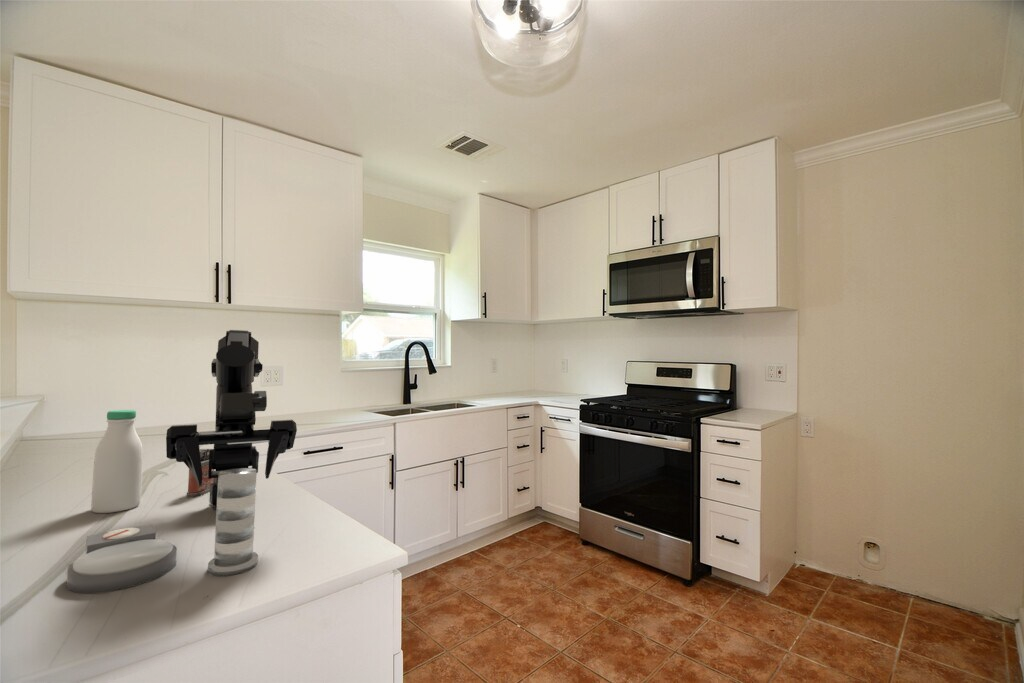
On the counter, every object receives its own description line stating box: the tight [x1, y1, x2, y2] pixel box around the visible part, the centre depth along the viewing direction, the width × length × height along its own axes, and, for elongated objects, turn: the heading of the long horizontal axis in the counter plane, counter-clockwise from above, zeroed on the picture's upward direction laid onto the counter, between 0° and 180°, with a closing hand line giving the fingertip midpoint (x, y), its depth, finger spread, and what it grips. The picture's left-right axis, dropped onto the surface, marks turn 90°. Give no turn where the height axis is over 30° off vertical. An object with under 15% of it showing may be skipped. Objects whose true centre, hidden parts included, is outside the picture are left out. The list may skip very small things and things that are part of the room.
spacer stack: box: [207, 467, 259, 577], centre depth 69 cm, size 6×6×14 cm
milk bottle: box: [90, 409, 144, 514], centre depth 95 cm, size 8×8×20 cm
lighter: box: [186, 448, 215, 499], centre depth 106 cm, size 8×3×10 cm, turn 5°
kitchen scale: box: [66, 523, 178, 594], centre depth 68 cm, size 12×16×4 cm
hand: (235, 480), depth 73 cm, fingers open, 9 cm apart
